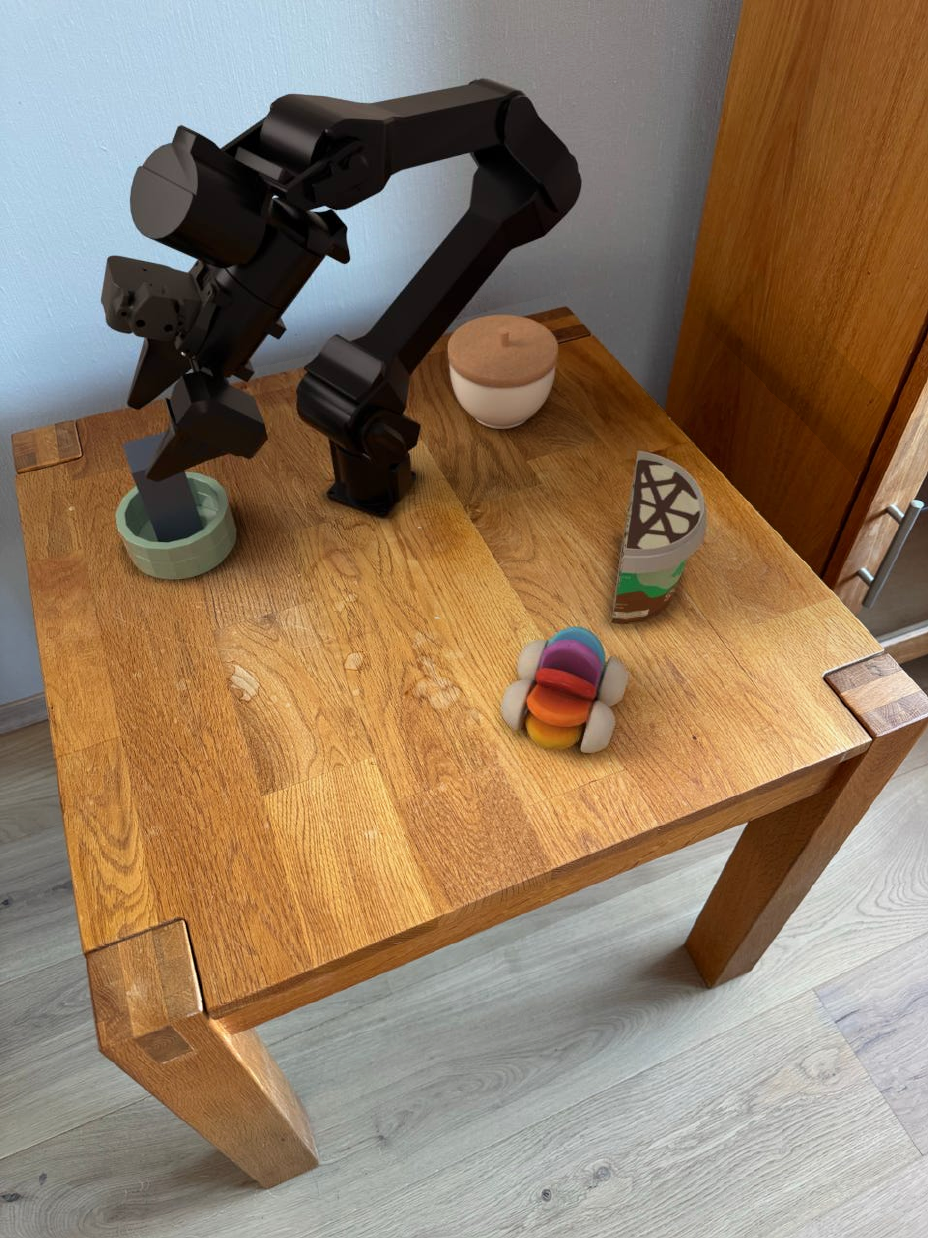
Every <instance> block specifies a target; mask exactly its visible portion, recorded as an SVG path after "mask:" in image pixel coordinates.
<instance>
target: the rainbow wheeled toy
mask: <svg viewBox="0 0 928 1238" xmlns="http://www.w3.org/2000/svg"><path fill="white" fill-rule="evenodd" d="M606 659H607V658H606V652H605V649H604V646H603V643H602V641H601V640H600V639H599V637H598V636H597V635H596V634H595V633H593V631H591V630H590V629H588V628H585V627H583V626H575V625H574V626H569V627H565V628H563V629H561V630H559V631H557V632H556V633H555V634H554V635H553V636H552V637H550V639H546V638H539V639H535V640H532V641H530V642H528V643H527V644H525V645H524V646H523V648H522V649H521V651H520V654H519V657H518V660H517V665H516V672H517V674H518V677H519V678H520V679H519V680H516V681H514V682H512V683H511V684H510V685H509V686H507V688H506V690H505V692H504V693H503V694H504V695H503V698H502V699H501V705H500V713H501V716H502V718H503V720H504V721H505V723H506V724H507V726H508V727H510V728H511V729H513V730H514V731H516V732H517V731H520V730H521V729H522V727H523V726H524V725H525V727H526V730H527V733H528V736H529V737H530V739H531V740H532V741H533V742H534V744H536V745H537V746H538V747H540V748H542V749H543V750H547V751H561V750H565V749H569V748H570V747H572V746H573V745H575V744H576V743H578V742H579V741H580V738H581V735H582V733H583V730H584V728H585V730H584V733H583V736H582V741H581V745H580V751H581V752H582V753H584V754H585V753H586V754H593V753H597V752H600V751H603V750H604V749H605V748H607V747H608V746H609V743H610V742H611V738H612V736H613V732H614V729H615V725H616V721H617V720H616V717H615V715H614V712H613V711H612V709H611V708H610V707H613V706H615V705H617V704H618V703H620V702H621V701H622V700H623V697H624V695H625V691H626V688H627V684H628V681H629V678H630V677H629V676H630V675H629V673H628V670H627V668H626V666H625V665H624V664H623V662H622V661H620V660H619V659H618V658H616V657H615V656H611V655H610V656H609V658H608V660H607V662H606ZM595 698H596V700H595Z"/></svg>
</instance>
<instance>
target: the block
mask: <svg viewBox="0 0 928 1238" xmlns="http://www.w3.org/2000/svg"><path fill="white" fill-rule="evenodd" d="M165 433H166V431H164V432H161V433H160V432H159V433H157V434H153V435H149V436H144V437H142V438H138V439H135V440H131V441H126V442H124V443H122V446H123V449H124V453H125V456H126V460H127V464H128V467H129V469H130V474H131V476H132V478H133V481H134V483H135V486H137V489H138V491H139V494H140V496H141V499H142V502H143V504H144V507H145V509H146V512H147V514H148V517H149V519H150V522H151V525H152V527H153V530H154V532H155V535H156V537H157V540H158V542H172V541H177V540H181V539H185V538H188V537H190V536H192V535H194V534H196V533H197V532H199V531H201V530H203V529H204V528H203V525H202V522H201V519H200V516H199V513H198V510H197V507H196V504H195V501H194V498H193V495H192V492H191V489H190V486H189V483H188V480H187V477H186V474H185V472H186V470H185V471H183V472H180V473H178V474H176V475H174V476H171V477H169V478H167V479H165V480H162V481H160V482H155V481H152V480H150V479H147V478H146V475H145V473H146V470H147V468H148V466H149V464H150V461H151V459H152V457H153V455H154V454H155V452H156V450H157V448H158V446H159V444H160V442H161V440H162V438H163V437H164V435H165Z"/></svg>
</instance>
